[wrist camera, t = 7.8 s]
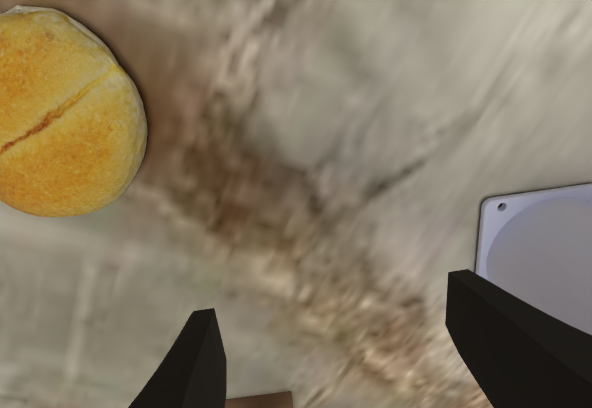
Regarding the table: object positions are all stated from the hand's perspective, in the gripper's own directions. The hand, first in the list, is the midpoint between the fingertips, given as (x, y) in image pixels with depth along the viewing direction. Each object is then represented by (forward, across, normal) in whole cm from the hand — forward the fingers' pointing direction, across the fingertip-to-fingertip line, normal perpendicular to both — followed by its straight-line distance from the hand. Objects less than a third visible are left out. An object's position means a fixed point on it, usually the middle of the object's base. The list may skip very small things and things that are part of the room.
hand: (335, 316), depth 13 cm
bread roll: (+11, +11, -5) cm, 16 cm away
